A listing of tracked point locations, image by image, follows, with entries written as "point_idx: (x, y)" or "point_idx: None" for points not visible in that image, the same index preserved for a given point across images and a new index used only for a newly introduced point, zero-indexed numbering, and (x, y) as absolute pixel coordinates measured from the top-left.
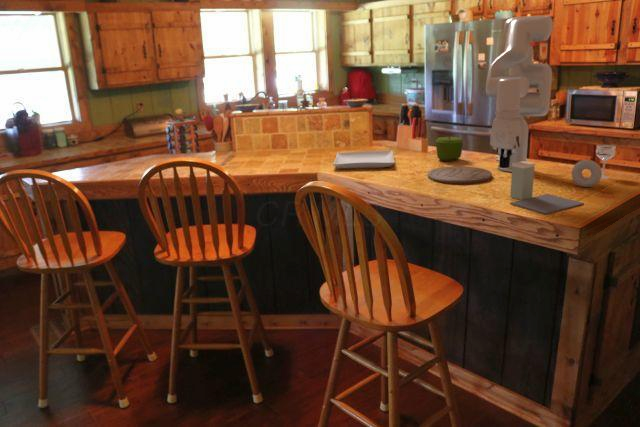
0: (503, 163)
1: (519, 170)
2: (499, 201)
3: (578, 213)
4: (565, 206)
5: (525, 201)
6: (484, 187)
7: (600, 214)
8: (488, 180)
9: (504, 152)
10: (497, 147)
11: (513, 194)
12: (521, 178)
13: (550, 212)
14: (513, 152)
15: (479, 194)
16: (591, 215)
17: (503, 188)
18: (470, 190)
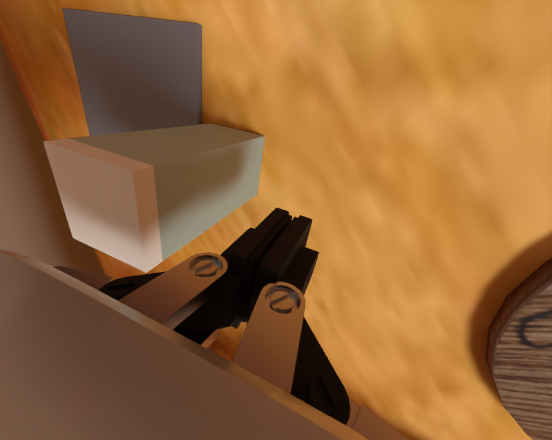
0: (261, 228)
1: (117, 145)
2: (256, 27)
3: (59, 109)
4: (95, 135)
5: (178, 97)
6: (453, 218)
7: (45, 139)
8: (488, 336)
9: (185, 293)
10: (228, 367)
11: (242, 134)
12: (144, 133)
13: (72, 42)
14: (80, 275)
15: (414, 65)
16: (43, 116)
17: (357, 244)
18: (519, 108)
